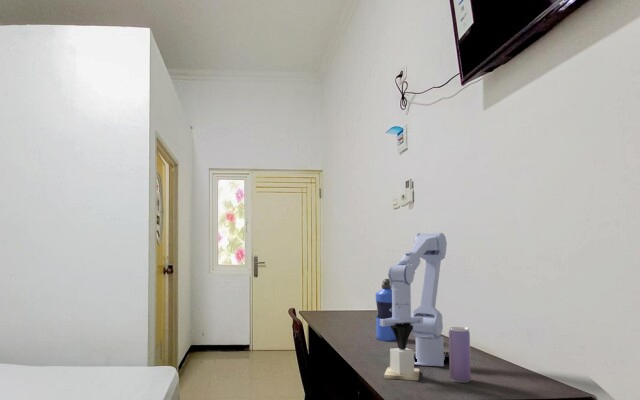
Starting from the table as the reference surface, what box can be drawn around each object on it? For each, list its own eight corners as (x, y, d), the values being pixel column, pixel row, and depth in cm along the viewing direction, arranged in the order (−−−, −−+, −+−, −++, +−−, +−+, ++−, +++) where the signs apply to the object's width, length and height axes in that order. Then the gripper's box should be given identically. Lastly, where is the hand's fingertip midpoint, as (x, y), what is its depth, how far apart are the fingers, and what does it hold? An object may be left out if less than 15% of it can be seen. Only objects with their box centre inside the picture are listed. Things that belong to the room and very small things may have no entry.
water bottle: (402, 338, 210) (401, 278, 212) (392, 342, 202) (392, 280, 204) (381, 336, 215) (381, 277, 217) (372, 339, 207) (371, 279, 209)
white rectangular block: (404, 368, 156) (404, 347, 156) (414, 372, 151) (413, 350, 152) (390, 370, 154) (390, 348, 154) (399, 374, 149) (399, 352, 149)
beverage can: (467, 384, 142) (466, 331, 144) (447, 381, 145) (446, 329, 147) (473, 379, 147) (471, 327, 149) (453, 376, 150) (452, 326, 152)
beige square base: (419, 371, 156) (419, 352, 156) (418, 380, 146) (418, 359, 147) (387, 370, 158) (387, 350, 159) (384, 378, 148) (384, 357, 149)
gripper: (413, 301, 161) (414, 344, 159) (374, 303, 155) (374, 348, 153) (426, 303, 154) (427, 348, 153) (386, 306, 148) (387, 352, 147)
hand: (401, 348), depth 153 cm, fingers closed
